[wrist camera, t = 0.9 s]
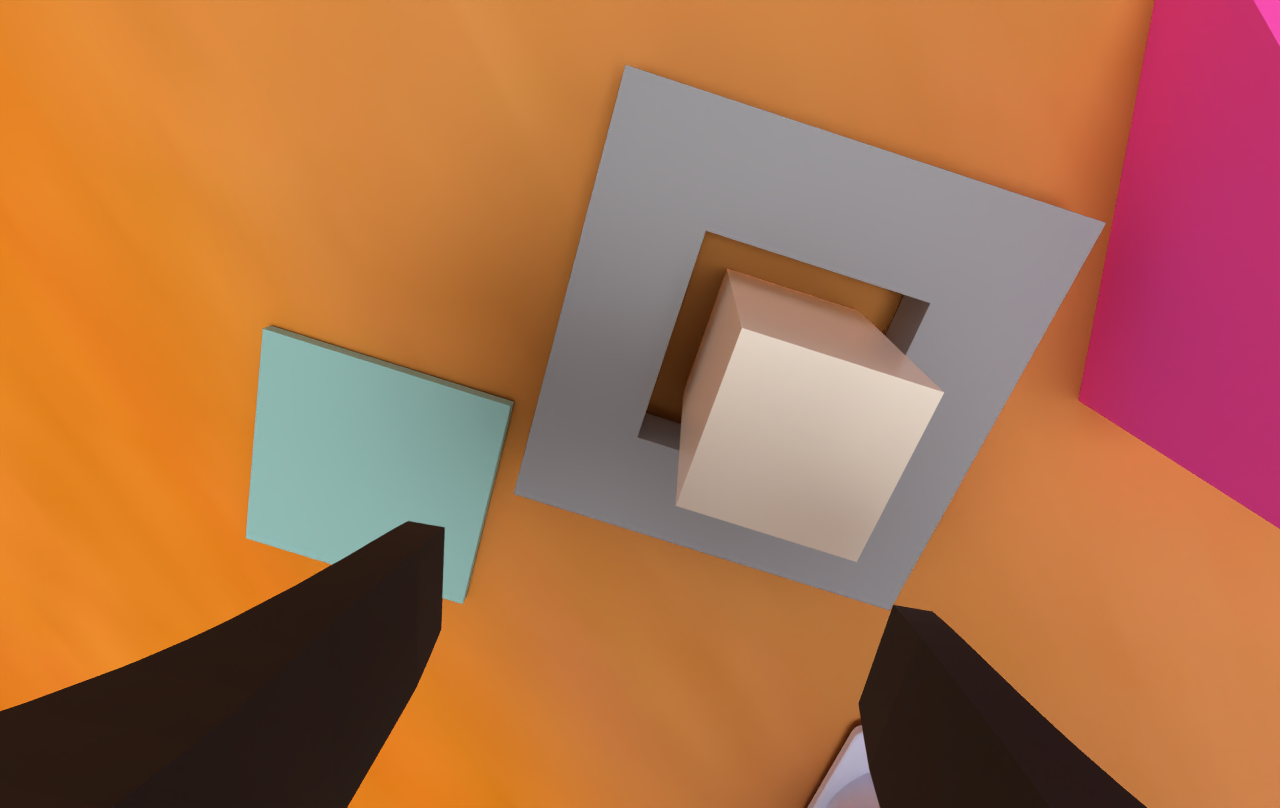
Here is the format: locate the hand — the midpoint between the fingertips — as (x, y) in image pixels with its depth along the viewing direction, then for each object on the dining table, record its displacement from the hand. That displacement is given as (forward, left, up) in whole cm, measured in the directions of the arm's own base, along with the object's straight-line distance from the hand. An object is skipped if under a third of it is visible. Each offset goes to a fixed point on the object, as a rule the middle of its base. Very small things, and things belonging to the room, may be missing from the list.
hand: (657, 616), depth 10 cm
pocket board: (-2, -2, -10) cm, 11 cm away
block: (-2, -2, -10) cm, 11 cm away
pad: (+9, +6, -10) cm, 15 cm away
